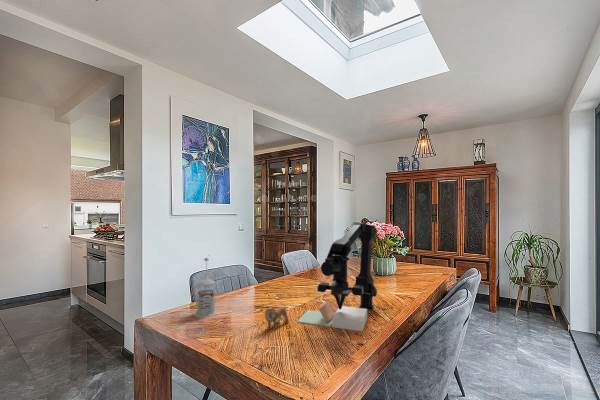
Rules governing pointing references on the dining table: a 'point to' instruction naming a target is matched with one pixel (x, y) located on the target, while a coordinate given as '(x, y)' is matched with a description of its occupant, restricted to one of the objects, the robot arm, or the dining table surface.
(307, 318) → the mat
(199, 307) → the french press
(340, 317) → the board
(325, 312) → the tile
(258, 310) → the dining table surface
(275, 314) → the lion figurine
